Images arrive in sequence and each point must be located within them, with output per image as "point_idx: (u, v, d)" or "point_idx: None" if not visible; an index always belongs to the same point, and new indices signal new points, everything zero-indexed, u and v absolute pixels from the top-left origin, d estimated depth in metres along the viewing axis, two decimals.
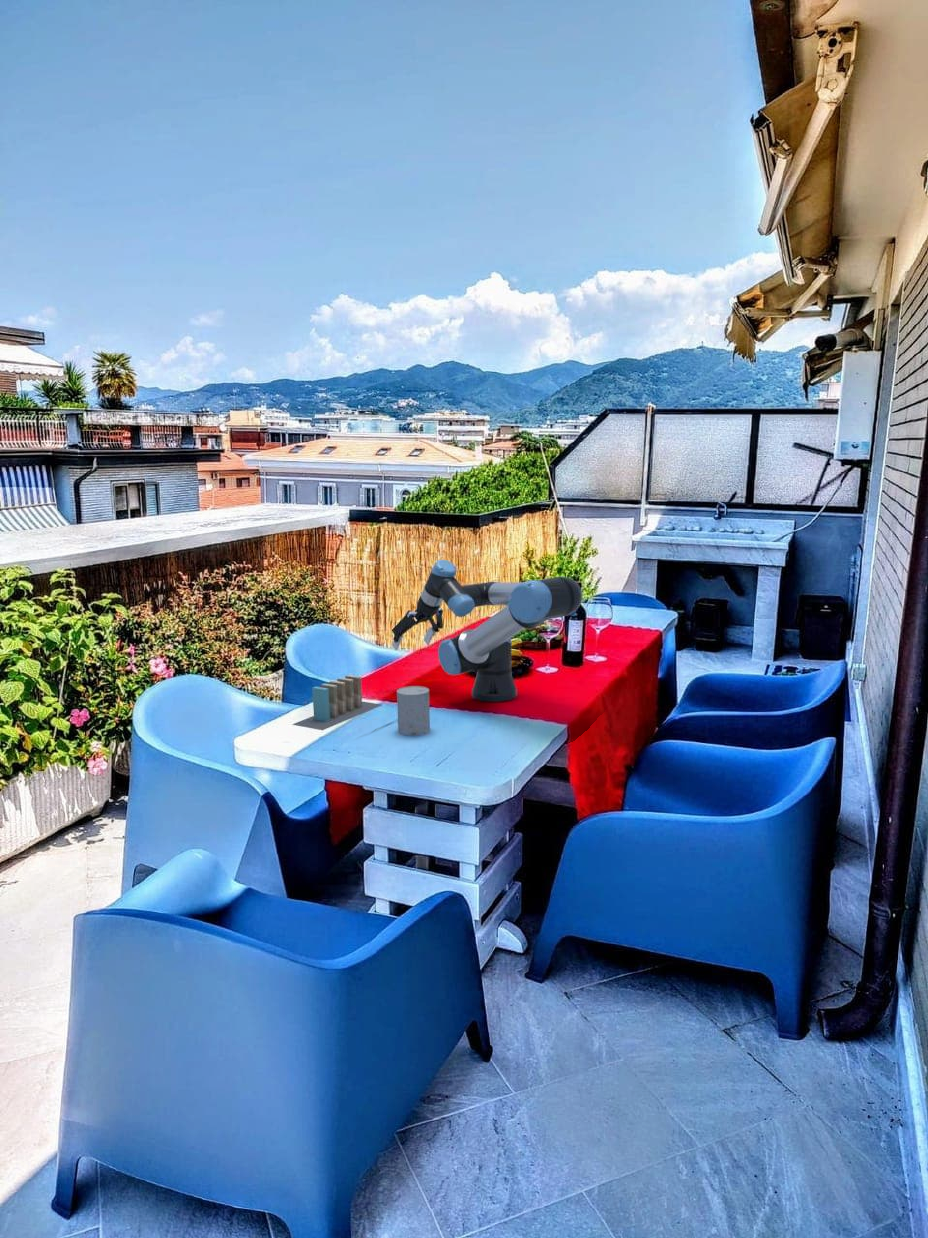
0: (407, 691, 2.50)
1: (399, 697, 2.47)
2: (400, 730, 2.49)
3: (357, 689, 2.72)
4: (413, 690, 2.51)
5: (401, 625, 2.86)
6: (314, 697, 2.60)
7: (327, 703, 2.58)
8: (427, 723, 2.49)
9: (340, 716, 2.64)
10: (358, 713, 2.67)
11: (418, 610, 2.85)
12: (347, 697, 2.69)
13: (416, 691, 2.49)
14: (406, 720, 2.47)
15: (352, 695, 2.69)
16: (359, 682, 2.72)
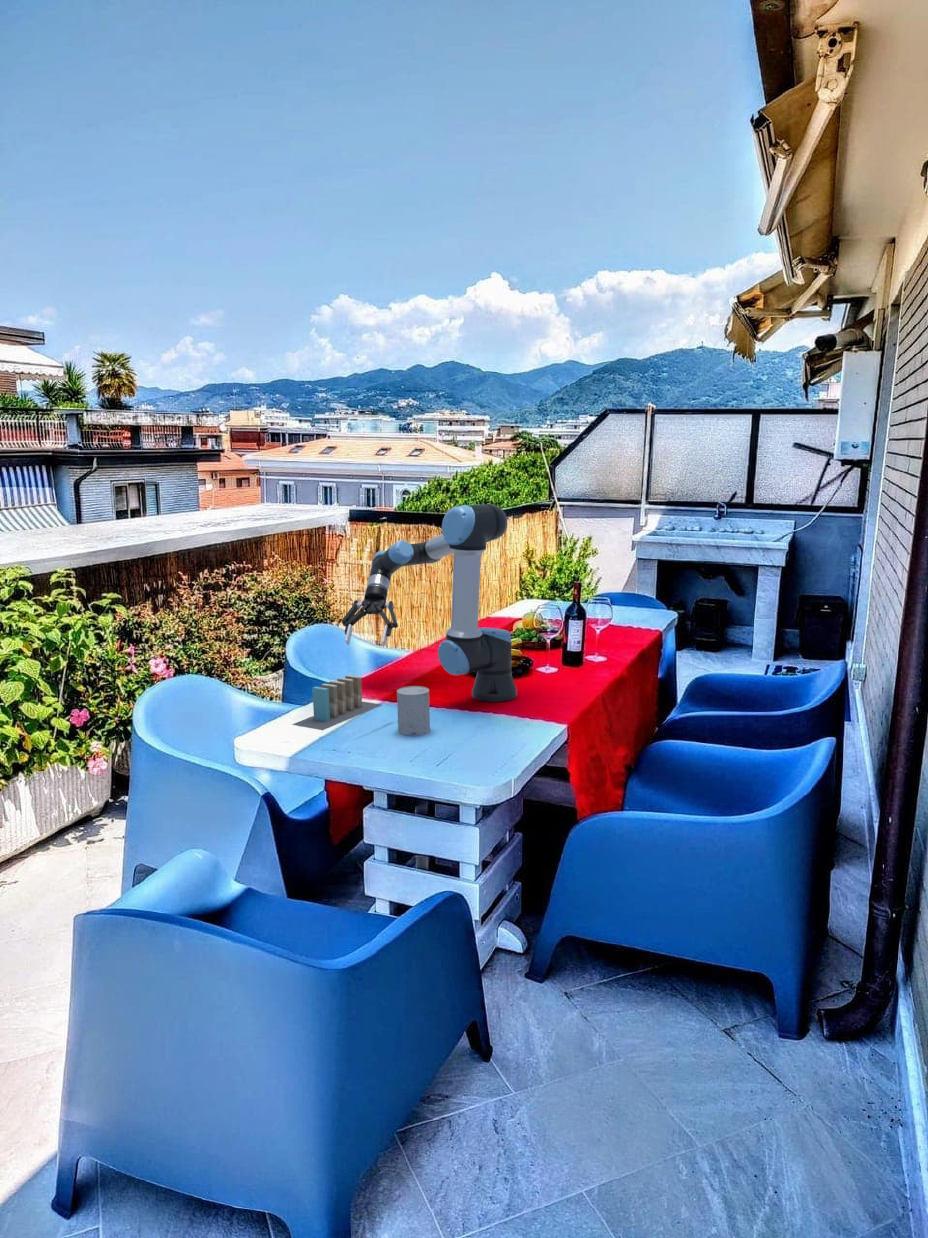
0: (407, 691, 2.50)
1: (399, 697, 2.47)
2: (400, 730, 2.49)
3: (357, 689, 2.72)
4: (413, 690, 2.51)
5: None
6: (314, 697, 2.60)
7: (327, 703, 2.58)
8: (427, 723, 2.49)
9: (340, 716, 2.64)
10: (358, 713, 2.67)
11: None
12: (347, 697, 2.69)
13: (416, 691, 2.49)
14: (406, 720, 2.47)
15: (352, 695, 2.69)
16: (359, 682, 2.72)
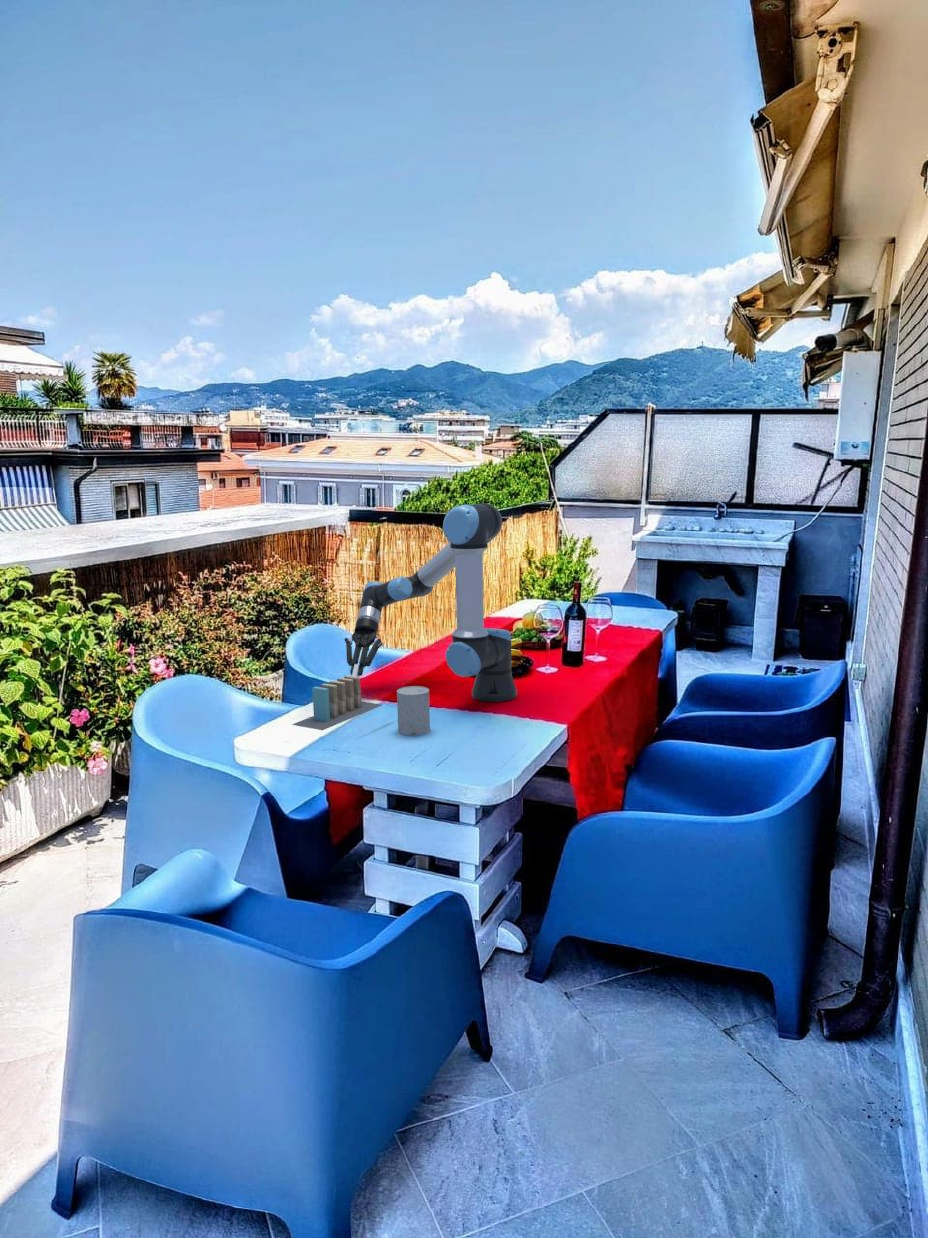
0: (407, 691, 2.50)
1: (399, 697, 2.47)
2: (400, 730, 2.49)
3: (356, 689, 2.71)
4: (413, 690, 2.51)
5: None
6: (314, 697, 2.60)
7: (327, 703, 2.58)
8: (427, 723, 2.49)
9: (340, 716, 2.64)
10: (358, 713, 2.67)
11: None
12: (347, 697, 2.69)
13: (416, 691, 2.49)
14: (406, 720, 2.47)
15: (352, 695, 2.69)
16: (358, 682, 2.71)
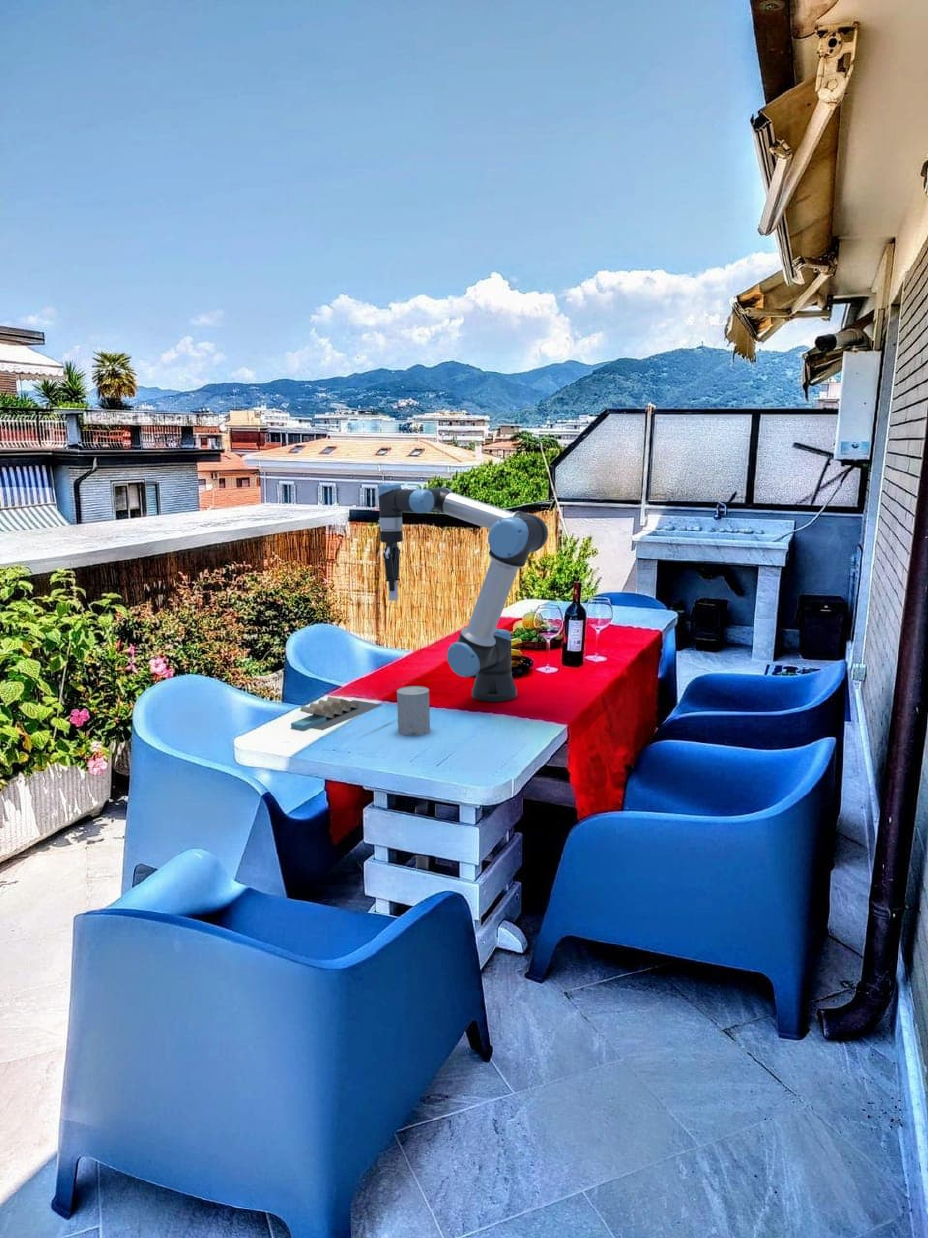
0: (407, 691, 2.50)
1: (399, 697, 2.47)
2: (400, 730, 2.49)
3: None
4: (413, 690, 2.51)
5: (390, 568, 2.81)
6: None
7: (314, 724, 2.54)
8: (427, 723, 2.49)
9: (340, 716, 2.64)
10: (358, 713, 2.67)
11: (389, 543, 2.80)
12: None
13: (416, 691, 2.49)
14: (406, 720, 2.47)
15: (341, 706, 2.64)
16: (343, 702, 2.65)
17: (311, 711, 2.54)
